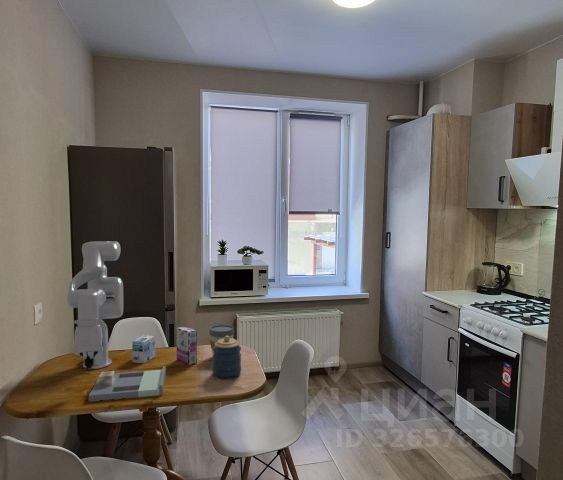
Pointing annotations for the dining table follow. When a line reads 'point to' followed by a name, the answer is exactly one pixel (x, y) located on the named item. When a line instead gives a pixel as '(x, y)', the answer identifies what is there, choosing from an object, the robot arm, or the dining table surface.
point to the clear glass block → (106, 378)
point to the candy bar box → (187, 345)
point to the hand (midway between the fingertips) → (89, 367)
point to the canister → (226, 358)
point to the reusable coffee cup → (220, 333)
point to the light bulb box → (143, 349)
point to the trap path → (131, 385)
